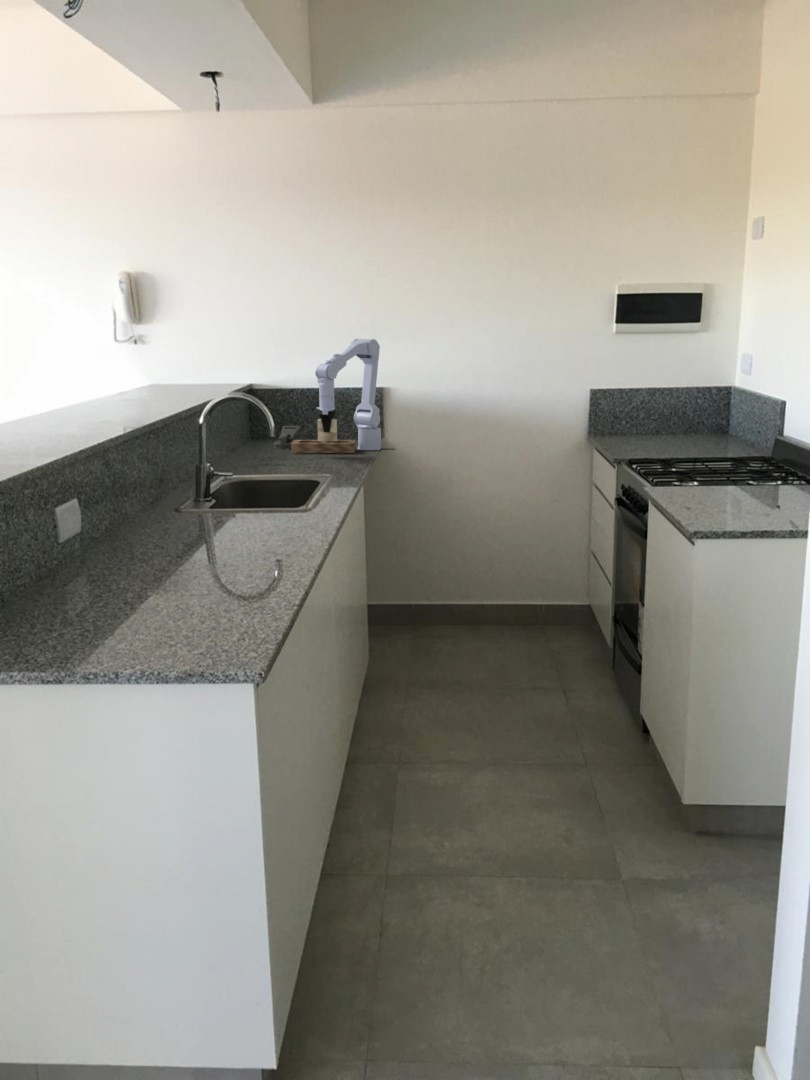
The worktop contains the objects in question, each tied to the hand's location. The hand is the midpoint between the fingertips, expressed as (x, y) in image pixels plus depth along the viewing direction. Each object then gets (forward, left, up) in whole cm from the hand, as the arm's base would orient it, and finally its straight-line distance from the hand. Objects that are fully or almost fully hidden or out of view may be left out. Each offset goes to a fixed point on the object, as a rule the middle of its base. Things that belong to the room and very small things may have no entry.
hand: (327, 431), depth 351 cm
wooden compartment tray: (+3, -13, -10) cm, 17 cm away
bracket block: (0, 0, -3) cm, 4 cm away
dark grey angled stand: (+20, -33, -10) cm, 40 cm away
